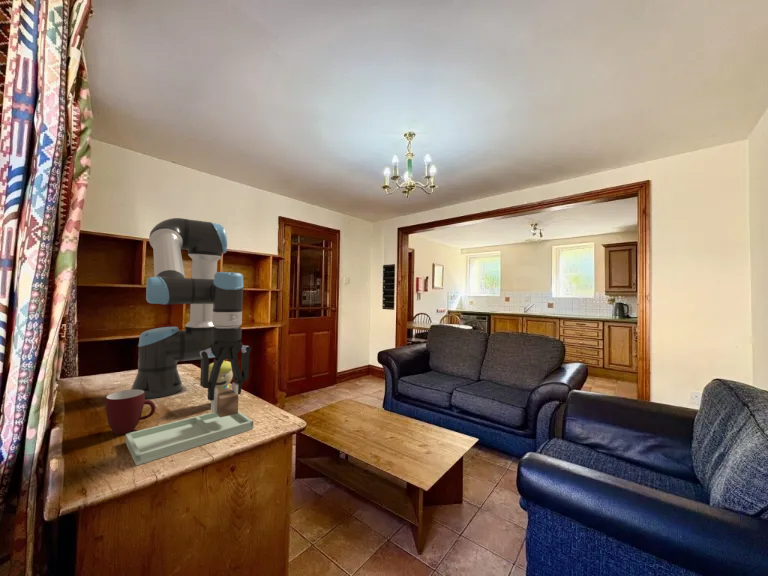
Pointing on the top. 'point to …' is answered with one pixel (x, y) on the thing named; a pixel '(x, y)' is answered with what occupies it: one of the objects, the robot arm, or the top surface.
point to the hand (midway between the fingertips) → (224, 408)
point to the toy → (223, 375)
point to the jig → (183, 435)
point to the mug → (126, 410)
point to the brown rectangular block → (227, 402)
